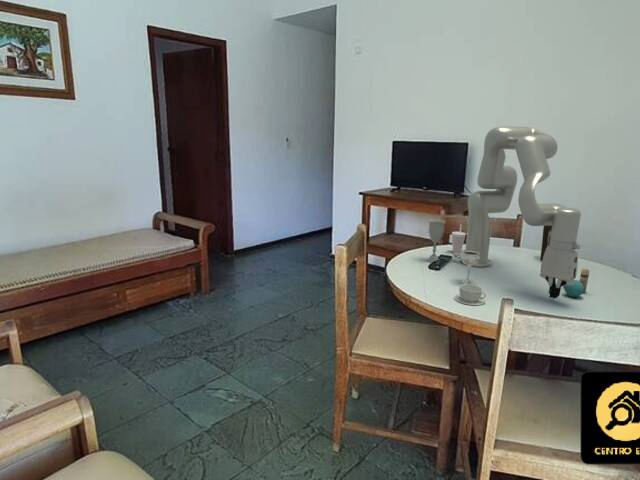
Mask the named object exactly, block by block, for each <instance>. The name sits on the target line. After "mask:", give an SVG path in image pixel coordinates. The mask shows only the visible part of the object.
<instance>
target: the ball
mask: <svg viewBox="0 0 640 480" xmlns="http://www.w3.org/2000/svg"><path fill="white" fill-rule="evenodd" d="M563 290H564V292H565V293H566V295H568V296H569V297H573V298H575V297H579V296H581V295H582V294H584V293H583V291H584V286H583V284H582V283H581V282H580V280H578V279H574V284H573V285H565V286H564V288H563Z"/></svg>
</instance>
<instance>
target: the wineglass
mask: <svg viewBox="0 0 640 480" xmlns="http://www.w3.org/2000/svg"><path fill="white" fill-rule="evenodd" d="M461 252H462V255H461V258H460V260H462V262H463V263H464V265H465V264H466V266H467V279H463V280H460V283H461V284H472V285H475V281H472V280H469V278H470V271H471V267H473V266H472V265H475V264H477V263H478V262H479V260H480V256H479V254H480V252H478V251H475V250H465V249H462V251H461ZM463 263H462V264H463Z"/></svg>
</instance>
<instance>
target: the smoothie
mask: <svg viewBox="0 0 640 480" xmlns="http://www.w3.org/2000/svg"><path fill="white" fill-rule="evenodd" d="M451 236H452V237H451V239H452V240H451V241H452V242H451V243H452V253H453V254H454V253H461V252H462V250H463V247H464V242H465V238H466V237H467V232H462V223H460V225H459V231H452V232H451Z"/></svg>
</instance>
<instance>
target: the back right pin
mask: <svg viewBox="0 0 640 480" xmlns="http://www.w3.org/2000/svg"><path fill="white" fill-rule="evenodd" d="M589 276H590V269H586V268H582V269H581V271H580V276H579V277H580V278H579V281H580V282H581V283H582V284H583V286H584V291H583V293H582V294H586V293H587V286H588V281H589Z"/></svg>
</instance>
